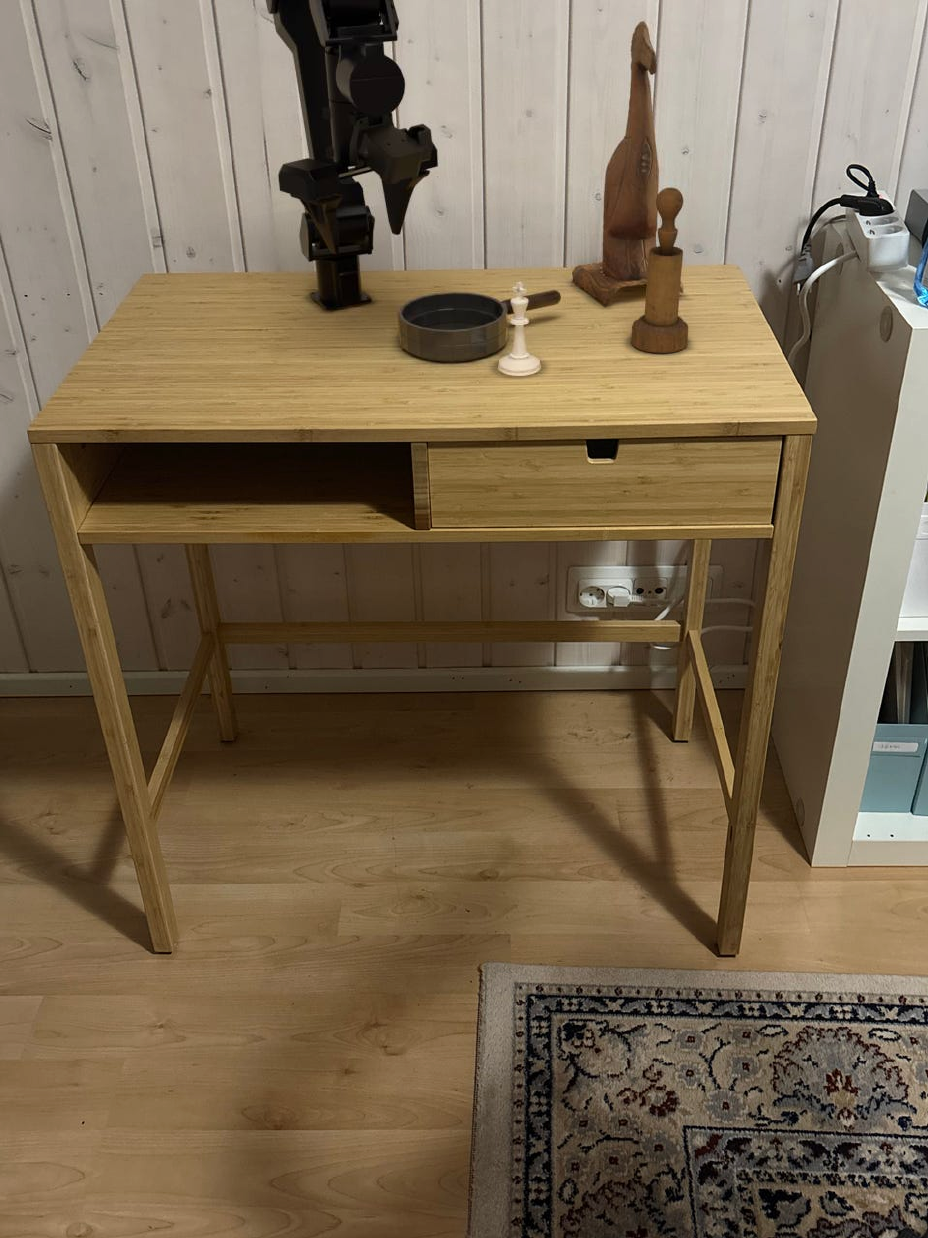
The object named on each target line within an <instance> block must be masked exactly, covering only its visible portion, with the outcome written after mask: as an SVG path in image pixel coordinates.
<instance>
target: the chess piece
mask: <svg viewBox="0 0 928 1238" xmlns="http://www.w3.org/2000/svg"><path fill="white" fill-rule="evenodd" d="M527 291H528V290H527V288H524V287H523V282H521V281H518V282H516V285H515V286H512V292H515V293H516V296H514V297H512V298H510V299H511V305H512V308H513V311H514V314H513V315H514V316H512V317H511V318H510V320H509V323H510V324H511V325H514V335H513V343H512V348H511V351H510V352H509V354H506V355H504V356H503V357H501V358H500V359H499V360H498V365H497V369H498V371H499V372H500V373H502V374H504V375H508V376H512V377H525V376H532V375H534V374H536V373H538V372H540V371H541V368H542V366H541V361H540V358H538V357H537V356H535V355H533V354H531V353H530V352H529V351H528V350H527V344H526V343H527V342H526V335H525V325H528V324H529V323H530V319H529V317H527V316H525V314H526V312H527V311H526V308H527V305H528V302H529V300H528V299H527V298H525V297H522V296H523V295H527Z"/></svg>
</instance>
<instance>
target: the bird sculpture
mask: <svg viewBox="0 0 928 1238" xmlns="http://www.w3.org/2000/svg"><path fill="white" fill-rule="evenodd" d="M656 54H657V53H656V51H655V49H654V47H653V44H652V40H651V36H650V32H649V27H648V25H647V23H646V22H645V21H644V20H642V21H639V22H638V23H637V25H636V26H635V28H634V31H633V33H632V36H631V45H630V58H631V63H630V86H629V87H630V89H629V90H630V91H629V100H628V112H627V119H626V120H627V121H626V127H625V135H624V136H623V138H622V139H621V140H620V142H619V143H618V144H617V146H616V147H615V148H614V151H613V153H612V154H611V156H610V159H609V161H608V163H607V165H606V169H605V175H604V176H605V177H604V190H603V214H602V220H603V222H602V223H603V224H602V261H600V262H593V263H585V264H578V265H576V266H575V267H574V269H572V272H571V275H572V281H571V283H574V285H576V284H577V286H578V287H579V288H580V289H584V290H583V291H585V292H587V293H588V294H589V295H591V296H592V297H593V298H595V299H597V301H600V302H601V303H602V304H603V305H606V304H607V302H608V301H609V299H611V297H612V296H613V295H614V294H616V293H617V292H618V291H619V290H620V289H621V288H625V287H633V286H640V285H647V274H648V258H649V250H650V249H651V248H653V247H657V233H658V217H659V216H658V214H659V212H658V210H657V207H656V198H657V196H658V194H659V187H660V185H659V184H660V181H659V180H660V167H659V159H658V152H657V144H656V143H657V142H656V133H655V123H654V110H653V102H652V91H651V90H652V89H651V88H652V87H651V82H650V81H651V80H650V77H649V75H650V76H653V75H656V73H657V66H658V64H657V55H656ZM680 294H682V295H684V284H683V282H682V281H681V282H680Z"/></svg>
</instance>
